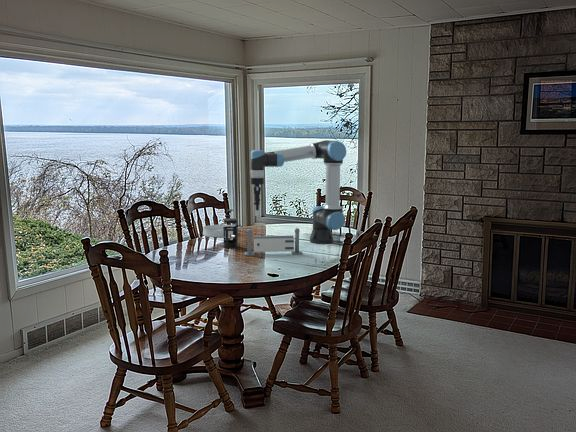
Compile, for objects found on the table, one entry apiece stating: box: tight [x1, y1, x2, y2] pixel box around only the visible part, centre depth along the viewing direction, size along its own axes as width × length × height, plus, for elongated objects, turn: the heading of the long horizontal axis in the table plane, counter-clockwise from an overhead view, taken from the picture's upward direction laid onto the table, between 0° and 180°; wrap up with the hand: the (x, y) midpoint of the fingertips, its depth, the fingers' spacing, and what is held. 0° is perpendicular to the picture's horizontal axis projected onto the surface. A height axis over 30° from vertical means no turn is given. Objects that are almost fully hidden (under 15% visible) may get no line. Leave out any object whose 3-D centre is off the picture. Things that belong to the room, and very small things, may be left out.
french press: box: [222, 209, 239, 249], centre depth 327 cm, size 12×9×23 cm
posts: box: [243, 227, 304, 257], centre depth 308 cm, size 34×6×15 cm, turn 96°
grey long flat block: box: [253, 235, 295, 253], centre depth 308 cm, size 23×3×9 cm, turn 96°
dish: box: [202, 224, 233, 238], centre depth 367 cm, size 22×22×5 cm
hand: (257, 214), depth 309 cm, fingers open, 13 cm apart
